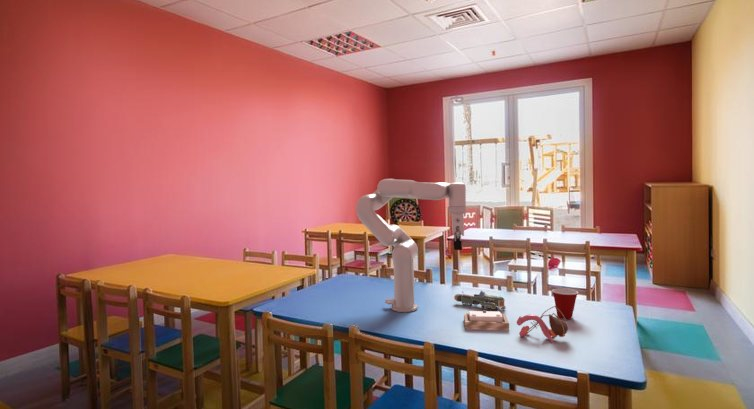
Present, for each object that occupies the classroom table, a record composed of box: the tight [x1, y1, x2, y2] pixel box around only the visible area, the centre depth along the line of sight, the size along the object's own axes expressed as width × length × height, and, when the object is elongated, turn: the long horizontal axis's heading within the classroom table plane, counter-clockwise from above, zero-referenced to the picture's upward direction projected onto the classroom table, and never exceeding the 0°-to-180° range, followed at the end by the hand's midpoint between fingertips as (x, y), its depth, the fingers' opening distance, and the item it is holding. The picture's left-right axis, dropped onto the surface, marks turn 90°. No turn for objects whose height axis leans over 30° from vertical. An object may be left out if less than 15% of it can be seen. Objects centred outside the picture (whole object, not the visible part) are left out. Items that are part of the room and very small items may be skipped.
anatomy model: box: [516, 305, 569, 343], centre depth 165 cm, size 11×15×17 cm
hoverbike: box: [453, 289, 506, 312], centre depth 204 cm, size 10×25×8 cm, turn 60°
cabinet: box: [463, 312, 510, 331], centre depth 180 cm, size 17×11×3 cm, turn 81°
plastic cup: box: [551, 288, 579, 320], centre depth 187 cm, size 11×11×12 cm
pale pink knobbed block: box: [468, 309, 503, 322], centre depth 180 cm, size 13×6×4 cm, turn 84°
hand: (457, 247), depth 193 cm, fingers open, 9 cm apart
